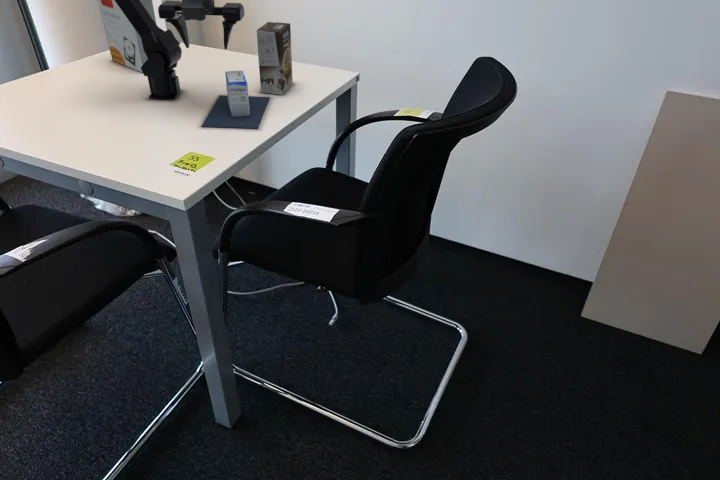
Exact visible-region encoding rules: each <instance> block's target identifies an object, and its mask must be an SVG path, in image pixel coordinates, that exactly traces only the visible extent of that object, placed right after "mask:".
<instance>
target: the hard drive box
mask: <svg viewBox="0 0 720 480" xmlns="http://www.w3.org/2000/svg"><path fill="white" fill-rule="evenodd" d="M140 2H141V3H142V5H143V6H144V8H145V9H146V10H147V12H148V13H149V15H150V16H151V18H152V19H153V21H154V22H155V23H156V24H157V20H156V14H155V9H154V3H153V0H140ZM97 3H98V7H99V11H100V16H101V19H102V23H103V28H104V32H105V33H104V34H105V36H106V40H107V44H108V45H107V46H108V49H109V53H110V58H111V61H113V62H116V63H117V64H120V65H123V66H124V67H125V66H126V67H127V68H130V69H132V70H134V71H137V72H140V73H143V72H142V70H141V67H142V65H143V64H144V63H145V62H146V61H147V59H148V58H147V56H146V54H145V52H144V50H143V45H142V41H141V37H140V36H139V34H138V33H137V31H136V30H135V29H134V27H133V26H132V24H131V23H130V22H129V20H128V19H127V17H126V16H125V15H124V13H123V12H122V10H121V9H120V8H119V6H118V5H117V3H116V2H115V1H114V0H97Z"/></svg>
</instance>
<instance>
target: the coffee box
mask: <svg viewBox="0 0 720 480" xmlns="http://www.w3.org/2000/svg"><path fill="white" fill-rule="evenodd" d="M291 34H292V33H291V23H289V22H272V21H267V22H266V23H264V24H263V25H262V26H260V27H259V28H257V29H256V42H257V56H258V69H259V83H260V84H259V85H260V92H261V93H263V94H273V95H280V96H282V95H284V94H285V93H286V91H287V90H288V89H290V87H291V86H292V85H293V56H292V35H291Z"/></svg>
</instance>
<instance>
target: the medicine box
mask: <svg viewBox="0 0 720 480" xmlns="http://www.w3.org/2000/svg"><path fill="white" fill-rule="evenodd" d="M224 73H225V74H224V75H225V82H226V83H225V84H226V85H225V86H226V96H228V105H229V108H230V112H231V115H232V117H243V116H250V109H249V97H248V96H249V88H248V87H249V86H248V81H247V79H246V76H245V73H244V70H228V71H227V70H226V71H225V72H224Z"/></svg>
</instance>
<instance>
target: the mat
mask: <svg viewBox="0 0 720 480" xmlns="http://www.w3.org/2000/svg"><path fill="white" fill-rule="evenodd" d="M248 97H249V109H250V116H243V117H232V115H231V112H230V108H229V105H228V95H219V96H218V97H217V99H216V100H215V103H214V104H213V105H212V108H211V109H210V110H209V112H208V113H207V116H206V118H205V119H204V121H203V122H202V124H201V127H200V128H219V129H244V130H245V129H247V130H259V126H260V124H261V121H262V119H263V116H264V114H265V111H266V109H267V106H268V104H269V101H270V99H271V97H270V96H250V95H248Z"/></svg>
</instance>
